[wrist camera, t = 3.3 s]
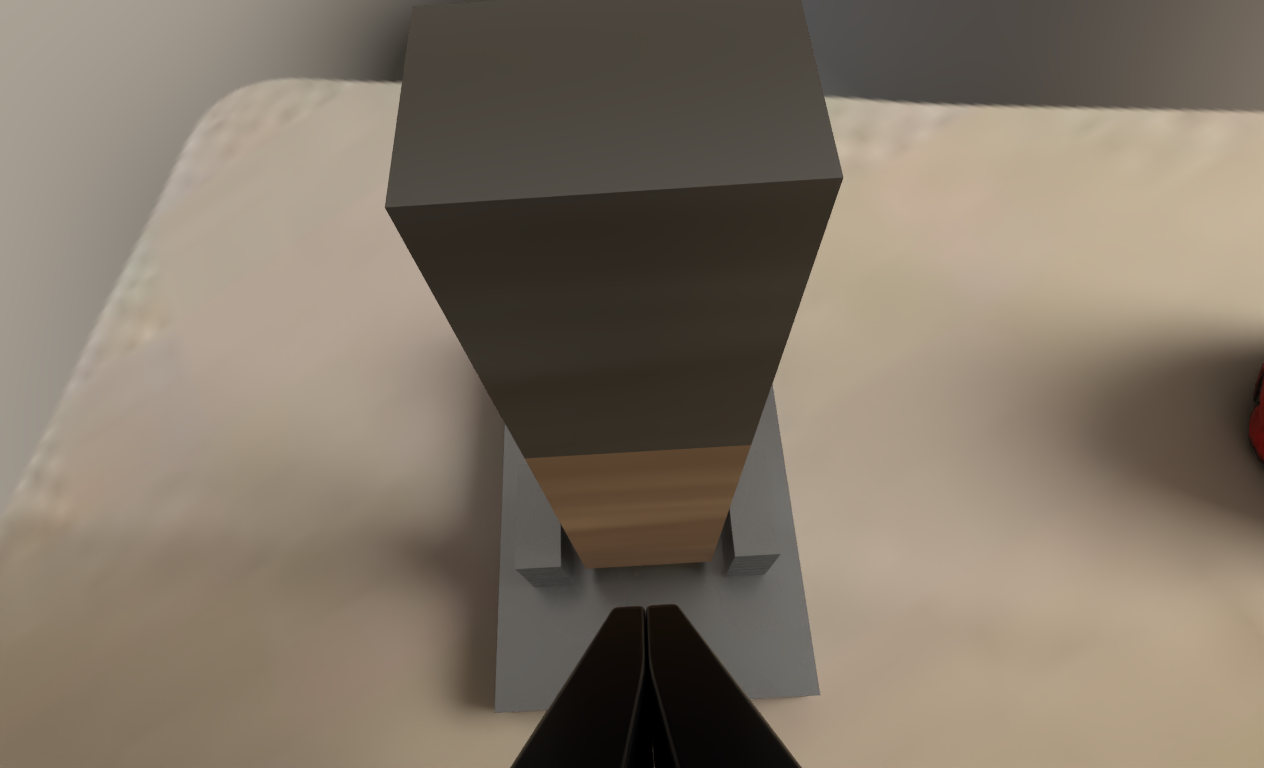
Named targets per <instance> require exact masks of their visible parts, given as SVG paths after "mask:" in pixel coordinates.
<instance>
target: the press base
mask: <svg viewBox="0 0 1264 768" xmlns="http://www.w3.org/2000/svg"><path fill="white" fill-rule="evenodd" d="M662 604H676V605H678V606H679V607H680V608H681V610H682V611H683V612H684V614H685V615H686V616H687V618H688V619H689V620H690V621H691V623H692V624H693V625H694V627H695V628H696V629H697V631H698V632H699V633H700V635H701V636H702V637H703V639H704V640H705V641H706V642H707V644H708V645H709V646H710V648H711V649H712V650H713V652H714V653H715V654H716V656H717V657H718V658H719V660H720V661H721V662H722V664H723V665H724V666H725V667H726V669H727V670H728V671H729V673H730V674H731V675H732V677H733V678H734V679H735V681H736V682H737V683H738V685H739V686H740V687H741V688H742V690H743V691H744V692H745V694H746V695H747V696H748V698H749V699H761V698H779V697H798V696H815V695H820V691H819V684H818V678H817V671H816V665H815V658H814V652H813V645H812V639H811V632H810V626H809V619H808V613H807V606H806V600H805V593H804V587H803V580H802V574H801V567H800V561H799V554H798V548H797V541H796V535H795V528H794V522H793V515H792V508H791V502H790V495H789V489H788V482H787V476H786V469H785V463H784V456H783V450H782V443H781V437H780V430H779V424H778V417H777V411H776V404H775V398H774V391H773V385H772V386H771V389H770V392H769V395H768V398H767V401H766V404H765V407H764V409H763V412H762V415H761V418H760V421H759V424H758V427H757V430H756V433H755V436H754V438H753V441H752V444H751V447H750V450H749V453H748V456H747V459H746V462H745V465H744V468H743V470H742V473H741V476H740V479H739V482H738V485H737V488H736V491H735V494H734V497H733V500H732V502H731V505H730V508H729V511H728V514H727V517H726V520H725V523H724V526H723V529H722V532H721V534H720V537H719V540H718V543H717V546H716V549H715V552H714V555H713V558H712V561H711V562H695V563H677V564H660V565H643V566H625V567H608V568H590V569H586V568H585V566H584V565H583V563H582V561H581V559H580V557H579V556H578V554H577V552H576V550H575V548H574V547H573V545H572V543H571V541H570V539H569V538H568V536H567V534H566V532H565V530H564V529H563V527H562V525H561V523H560V521H559V520H558V518H557V516H556V514H555V512H554V511H553V509H552V507H551V505H550V503H549V502H548V500H547V498H546V496H545V494H544V493H543V491H542V489H541V487H540V485H539V484H538V482H537V480H536V478H535V476H534V475H533V473H532V471H531V469H530V468H529V466H528V464H527V462H526V460H525V459H524V457H523V455H522V453H521V451H520V450H519V448H518V446H517V444H516V442H515V441H514V439H513V437H512V435H511V433H510V432H509V430H508V428H507V426H506V424H505V428H504V457H503V486H502V515H501V543H500V572H499V601H498V630H497V658H496V687H495V713H502V712H522V711H540V710H548V708H549V707H550V705H551V704H552V702H553V701H554V699H555V697H556V696H557V694H558V693H559V691H560V690H561V688H562V687H563V685H564V683H565V682H566V680H567V679H568V677H569V676H570V674H571V673H572V671H573V669H574V668H575V666H576V665H577V663H578V662H579V660H580V659H581V657H582V655H583V654H584V652H585V651H586V649H587V648H588V646H589V645H590V643H591V641H592V640H593V638H594V637H595V635H596V634H597V632H598V631H599V629H600V627H601V626H602V624H603V623H604V621H605V620H606V618H607V617H608V615H609V613H610V612H611V611H612V609H614V608H616V607H627V606H642V607H643V608H644V609H645V613H646V609H647V607H648V606H650V605H662Z"/></svg>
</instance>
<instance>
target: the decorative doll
mask: <svg viewBox="0 0 1264 768" xmlns="http://www.w3.org/2000/svg"><path fill="white" fill-rule="evenodd" d="M1253 397H1254V402H1255V401H1256V402H1257V403H1258V404H1259V405H1258V406H1256V407H1255V408H1254V411H1253V412H1251V416H1250V424H1249V439H1250V443H1251V445H1252V446H1253V448H1254V450H1255V452H1256V454H1257V456H1258V458H1259V460H1260V461H1261V462H1262V463H1263V464H1264V363H1263V365H1262V367H1261V370H1260V373H1259V376H1258V379H1257V382H1256V385H1255V389H1254V393H1253Z"/></svg>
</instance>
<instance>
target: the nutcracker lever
mask: <svg viewBox="0 0 1264 768" xmlns="http://www.w3.org/2000/svg"><path fill="white" fill-rule="evenodd" d="M842 180H843V174H842V170H841V166H840V162H839V157H838V153H837V149H836V145H835V141H834V136H833V132H832V128H831V124H830V120H829V115H828V111H827V107H826V103H825V99H824V95H823V90H822V87H821V82H820V78H819V74H818V69H817V65H816V61H815V57H814V53H813V48H812V44H811V40H810V36H809V32H808V27H807V24H806V19H805V15H804V11H803V7H802V2H801V0H495V1H480V2H466V3H452V4H437V5H424V6H413V8H412V14H411V22H410V29H409V36H408V44H407V51H406V58H405V65H404V73H403V80H402V87H401V94H400V102H399V109H398V116H397V123H396V131H395V138H394V145H393V152H392V160H391V167H390V174H389V182H388V189H387V196H386V203H385V209H386V210H387V212H388V214H389V216H390V217H391V219H392V221H393V223H394V225H395V226H396V228H397V230H398V232H399V234H400V235H401V237H402V239H403V241H404V243H405V244H406V246H407V248H408V250H409V252H410V253H411V255H412V257H413V259H414V261H415V262H416V264H417V266H418V268H419V270H420V271H421V273H422V275H423V277H424V279H425V280H426V282H427V284H428V286H429V288H430V289H431V291H432V293H433V295H434V297H435V298H436V300H437V302H438V304H439V306H440V307H441V309H442V311H443V313H444V315H445V316H446V318H447V320H448V322H449V324H450V325H451V327H452V329H453V331H454V333H455V334H456V336H457V338H458V340H459V342H460V343H461V345H462V347H463V349H464V351H465V352H466V354H467V356H468V358H469V360H470V361H471V363H472V365H473V367H474V369H475V370H476V372H477V374H478V376H479V378H480V379H481V381H482V383H483V385H484V387H485V388H486V390H487V392H488V394H489V396H490V397H491V399H492V401H493V403H494V405H495V406H496V408H497V410H498V412H499V414H500V415H501V417H502V419H503V421H504V423H505V424H506V426H507V428H508V430H509V432H510V433H511V435H512V437H513V439H514V441H515V442H516V444H517V446H518V448H519V450H520V451H521V453H522V455H523V457H524V459H525V460H526V462H527V464H528V466H529V468H530V469H531V471H532V473H533V475H534V476H535V478H536V480H537V482H538V484H539V485H540V487H541V489H542V491H543V493H544V494H545V496H546V498H547V500H548V502H549V503H550V505H551V507H552V509H553V511H554V512H555V514H556V516H557V518H558V520H559V521H560V523H561V525H562V527H563V529H564V530H565V532H566V534H567V536H568V538H569V539H570V541H571V543H572V545H573V547H574V548H575V550H576V552H577V554H578V556H579V557H580V559H581V561H582V563H583V565H584V566H585V568H586V569H590V568H608V567H625V566H643V565H660V564H677V563H695V562H711V561H712V558H713V555H714V552H715V549H716V546H717V543H718V540H719V537H720V534H721V532H722V529H723V526H724V523H725V520H726V517H727V514H728V511H729V508H730V505H731V502H732V500H733V497H734V494H735V491H736V488H737V485H738V482H739V479H740V476H741V473H742V470H743V468H744V465H745V462H746V459H747V456H748V453H749V450H750V447H751V444H752V441H753V438H754V436H755V433H756V430H757V427H758V424H759V421H760V418H761V415H762V412H763V409H764V407H765V404H766V401H767V398H768V395H769V392H770V389H771V386H772V383H773V380H774V377H775V375H776V372H777V369H778V366H779V363H780V360H781V357H782V354H783V351H784V348H785V345H786V343H787V340H788V337H789V334H790V331H791V328H792V325H793V322H794V319H795V316H796V313H797V311H798V308H799V305H800V302H801V299H802V296H803V293H804V290H805V287H806V284H807V281H808V279H809V276H810V273H811V270H812V267H813V264H814V261H815V258H816V255H817V252H818V249H819V247H820V244H821V241H822V238H823V235H824V232H825V229H826V226H827V223H828V220H829V217H830V215H831V212H832V209H833V206H834V203H835V200H836V197H837V194H838V191H839V188H840V186H841V183H842Z"/></svg>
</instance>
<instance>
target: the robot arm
mask: <svg viewBox="0 0 1264 768" xmlns="http://www.w3.org/2000/svg"><path fill="white" fill-rule="evenodd" d="M653 753H654V754H653ZM654 767H655V768H802V767H801V766H800V765H799V763H798V762H797V761H796V759H795V758H794V757H793V755H792V754H791V753H790V752H789V750H788V749H787V748H786V746H785V745H784V744H783V742H782V741H781V740H780V738H779V737H778V736H777V734H776V733H775V732H774V731H773V729H772V728H771V727H770V725H769V724H768V723H767V721H766V720H765V719H764V717H763V716H762V715H761V713H760V712H759V711H758V709H757V708H756V707H755V706H754V704H753V703H752V702H751V700H750V699H749V698H748V696H747V695H746V694H745V692H744V691H743V690H742V688H741V687H740V686H739V685H738V683H737V682H736V681H735V679H734V678H733V677H732V675H731V674H730V673H729V671H728V670H727V669H726V667H725V666H724V665H723V664H722V662H721V661H720V660H719V658H718V657H717V656H716V654H715V653H714V652H713V650H712V649H711V648H710V646H709V645H708V644H707V642H706V641H705V640H704V639H703V637H702V636H701V635H700V633H699V632H698V631H697V629H696V628H695V627H694V625H693V624H692V623H691V621H690V620H689V619H688V618H687V616H686V615H685V614H684V612H683V611H682V610H681V608H680V607H679V606H678V605H676V604H662V605H650V606H648V607H647V609H646V613H645V609H644V608H643V607H642V606H627V607H616V608H614V609H612V611H611V612H610V613H609V615H608V617H607V618H606V620H605V621H604V623H603V624H602V626H601V627H600V629H599V631H598V632H597V634H596V635H595V637H594V638H593V640H592V641H591V643H590V645H589V646H588V648H587V649H586V651H585V652H584V654H583V655H582V657H581V659H580V660H579V662H578V663H577V665H576V666H575V668H574V669H573V671H572V673H571V674H570V676H569V677H568V679H567V680H566V682H565V683H564V685H563V687H562V688H561V690H560V691H559V693H558V694H557V696H556V697H555V699H554V701H553V702H552V704H551V705H550V707H549V708H548V710H547V711H546V713H545V715H544V716H543V718H542V719H541V721H540V722H539V724H538V725H537V727H536V729H535V730H534V732H533V733H532V735H531V736H530V738H529V739H528V741H527V743H526V744H525V746H524V747H523V749H522V750H521V752H520V753H519V755H518V757H517V758H516V760H515V761H514V763H513V764H512V766H511V767H510V768H654Z"/></svg>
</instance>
